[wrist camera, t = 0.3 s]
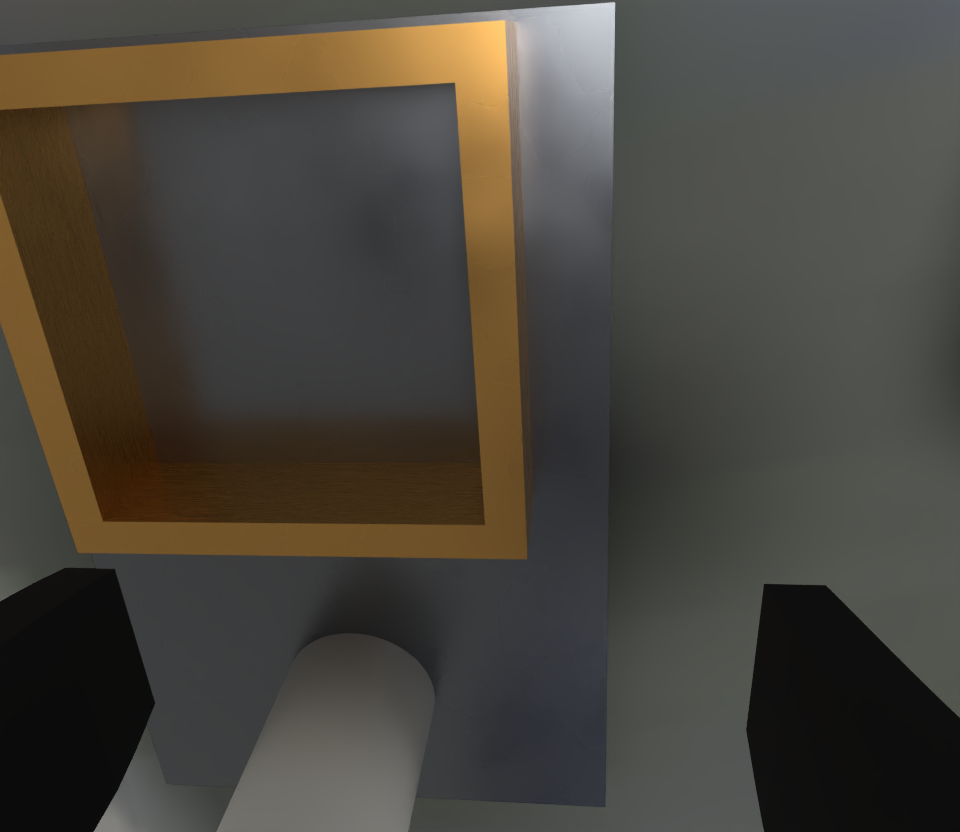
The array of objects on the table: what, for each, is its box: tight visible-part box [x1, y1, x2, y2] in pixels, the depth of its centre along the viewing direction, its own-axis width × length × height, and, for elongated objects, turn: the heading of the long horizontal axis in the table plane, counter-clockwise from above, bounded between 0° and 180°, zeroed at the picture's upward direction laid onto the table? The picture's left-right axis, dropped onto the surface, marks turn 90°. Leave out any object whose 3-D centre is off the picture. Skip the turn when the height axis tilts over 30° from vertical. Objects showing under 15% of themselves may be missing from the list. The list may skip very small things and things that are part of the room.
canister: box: [217, 633, 435, 832], centre depth 18 cm, size 4×4×7 cm
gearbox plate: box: [0, 2, 615, 807], centre depth 18 cm, size 20×13×4 cm, turn 3°
